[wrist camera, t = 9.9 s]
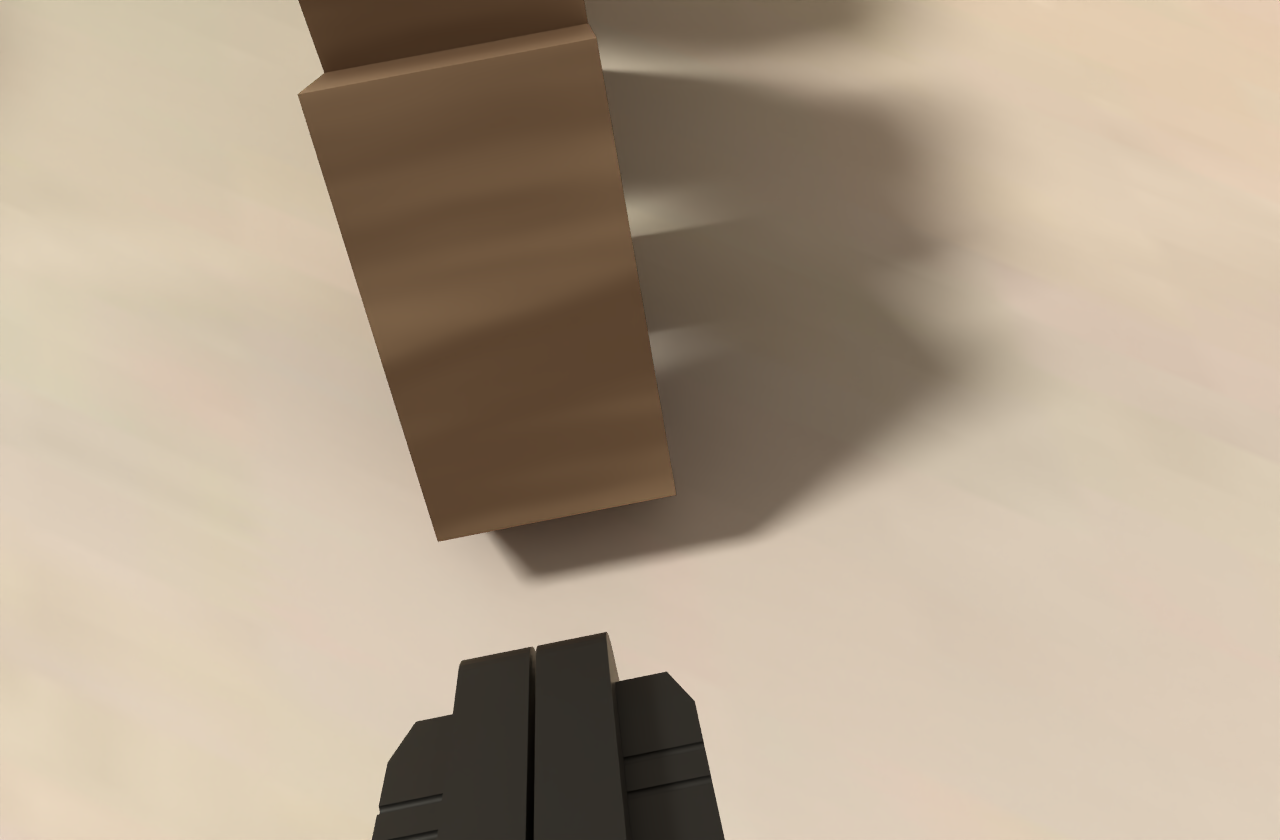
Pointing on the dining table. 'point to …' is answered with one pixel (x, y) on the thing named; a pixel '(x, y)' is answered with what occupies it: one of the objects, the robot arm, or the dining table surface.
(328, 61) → the domino
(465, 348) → the domino
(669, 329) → the dining table surface
